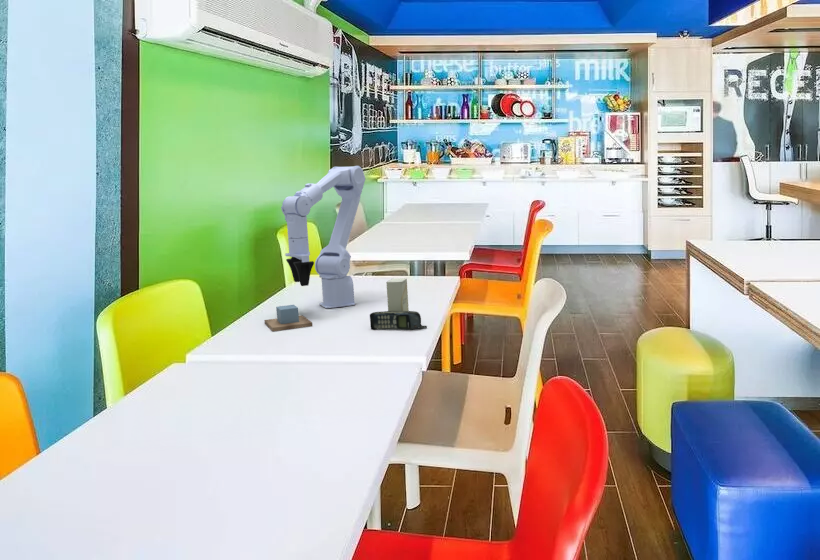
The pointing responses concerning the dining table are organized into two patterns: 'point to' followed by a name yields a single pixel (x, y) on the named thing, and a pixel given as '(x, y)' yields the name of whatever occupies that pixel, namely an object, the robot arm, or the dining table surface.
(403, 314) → the mobile phone
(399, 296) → the skincare box
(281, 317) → the slate blue cube
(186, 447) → the dining table surface
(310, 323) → the board
